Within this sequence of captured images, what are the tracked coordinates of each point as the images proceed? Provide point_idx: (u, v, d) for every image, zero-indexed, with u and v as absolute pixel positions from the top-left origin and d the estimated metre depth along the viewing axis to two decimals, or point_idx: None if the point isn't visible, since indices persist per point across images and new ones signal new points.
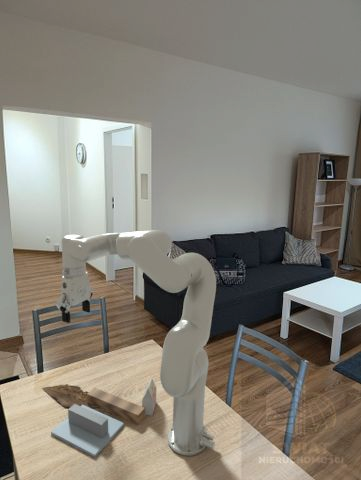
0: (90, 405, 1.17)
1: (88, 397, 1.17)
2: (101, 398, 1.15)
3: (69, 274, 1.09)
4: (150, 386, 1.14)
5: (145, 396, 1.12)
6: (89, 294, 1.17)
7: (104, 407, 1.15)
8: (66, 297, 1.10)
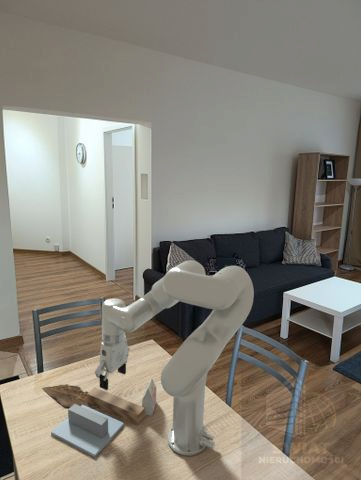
0: (90, 405, 1.17)
1: (88, 397, 1.18)
2: (101, 398, 1.15)
3: (109, 341, 1.06)
4: (150, 386, 1.14)
5: (145, 396, 1.12)
6: (126, 357, 1.14)
7: (104, 407, 1.15)
8: (105, 365, 1.06)
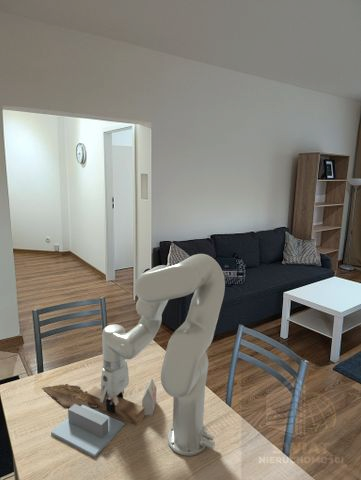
0: (90, 405, 1.17)
1: (88, 396, 1.18)
2: None
3: (110, 367, 1.08)
4: (150, 386, 1.14)
5: (145, 396, 1.12)
6: (127, 381, 1.16)
7: (104, 406, 1.15)
8: (107, 390, 1.08)
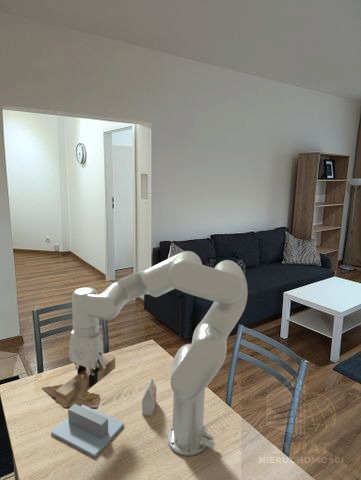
0: (90, 405, 1.17)
1: None
2: None
3: None
4: (150, 386, 1.14)
5: (145, 396, 1.12)
6: (90, 364, 0.97)
7: None
8: None
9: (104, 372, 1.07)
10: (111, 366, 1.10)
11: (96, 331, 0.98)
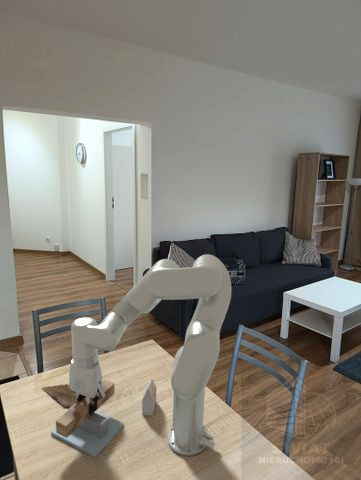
0: None
1: None
2: None
3: None
4: (150, 386, 1.14)
5: (145, 396, 1.12)
6: (90, 394, 0.99)
7: None
8: None
9: (103, 398, 1.08)
10: (110, 392, 1.11)
11: (95, 361, 0.99)
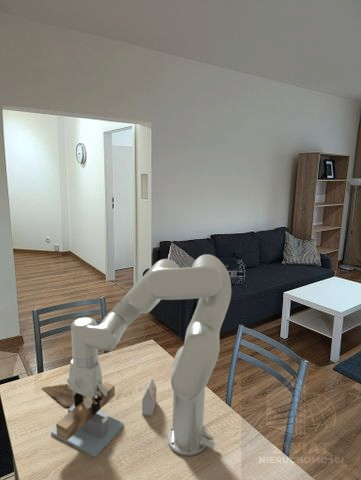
0: None
1: None
2: None
3: None
4: (150, 386, 1.14)
5: (145, 396, 1.12)
6: (90, 394, 0.99)
7: None
8: None
9: (104, 401, 1.08)
10: (110, 394, 1.11)
11: (95, 361, 0.99)
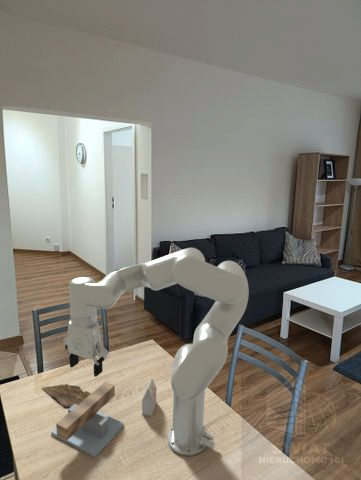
0: None
1: None
2: (94, 392, 1.09)
3: None
4: (150, 386, 1.14)
5: (145, 396, 1.12)
6: (88, 355, 0.96)
7: None
8: None
9: (104, 401, 1.08)
10: (110, 394, 1.11)
11: (94, 321, 0.97)
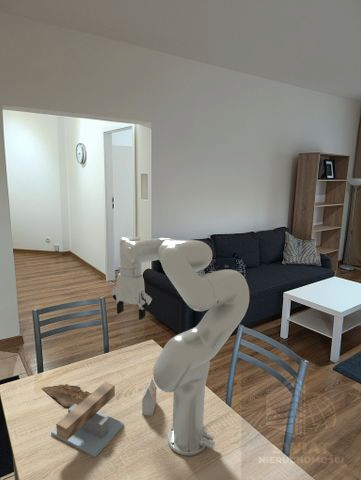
0: None
1: None
2: (94, 392, 1.09)
3: None
4: (150, 386, 1.14)
5: (145, 396, 1.12)
6: (135, 300, 1.15)
7: None
8: None
9: (104, 401, 1.08)
10: (110, 394, 1.11)
11: (139, 272, 1.16)
